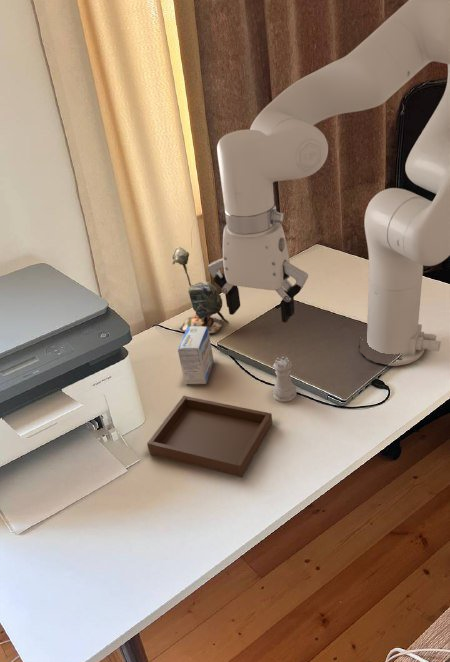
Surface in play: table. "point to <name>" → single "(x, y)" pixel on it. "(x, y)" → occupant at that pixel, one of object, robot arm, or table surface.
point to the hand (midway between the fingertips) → (260, 314)
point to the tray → (211, 435)
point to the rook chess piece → (283, 381)
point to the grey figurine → (201, 299)
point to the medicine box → (196, 355)
